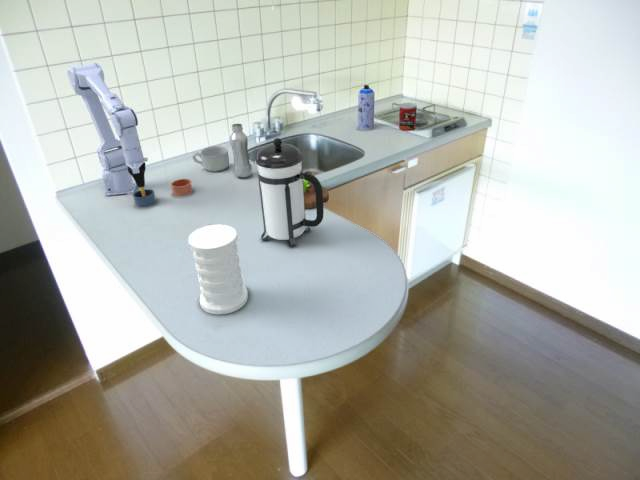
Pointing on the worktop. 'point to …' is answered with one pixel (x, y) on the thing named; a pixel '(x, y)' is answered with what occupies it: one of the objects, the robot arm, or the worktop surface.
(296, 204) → the coffee press
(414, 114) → the canned food
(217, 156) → the teacup
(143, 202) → the left pot
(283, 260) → the worktop surface
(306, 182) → the plant
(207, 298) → the decorative container
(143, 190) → the pencil
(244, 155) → the plastic bottle
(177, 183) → the right pot
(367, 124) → the aerosol can
